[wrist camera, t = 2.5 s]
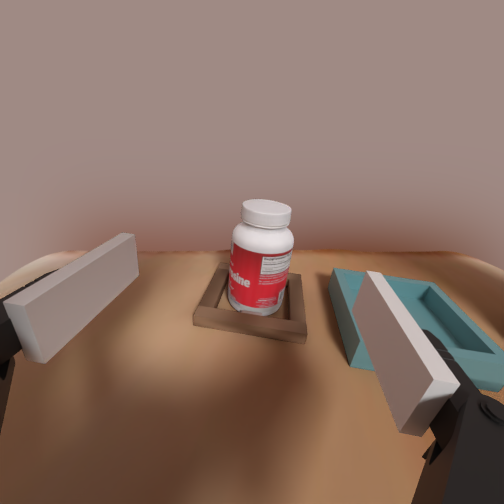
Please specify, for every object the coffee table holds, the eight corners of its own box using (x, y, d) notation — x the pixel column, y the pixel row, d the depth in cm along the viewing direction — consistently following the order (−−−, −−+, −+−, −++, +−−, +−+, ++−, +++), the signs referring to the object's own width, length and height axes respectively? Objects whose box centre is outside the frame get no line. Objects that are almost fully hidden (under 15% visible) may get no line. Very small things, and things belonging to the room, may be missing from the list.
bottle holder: (299, 282, 32) (300, 274, 31) (304, 344, 22) (307, 334, 22) (220, 270, 33) (220, 262, 32) (193, 325, 23) (193, 315, 23)
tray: (423, 302, 31) (433, 282, 29) (498, 392, 20) (519, 367, 19) (327, 287, 31) (333, 267, 30) (349, 366, 21) (360, 340, 19)
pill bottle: (221, 288, 29) (226, 196, 24) (267, 282, 31) (281, 197, 26) (237, 324, 24) (247, 216, 19) (291, 314, 26) (313, 215, 21)
